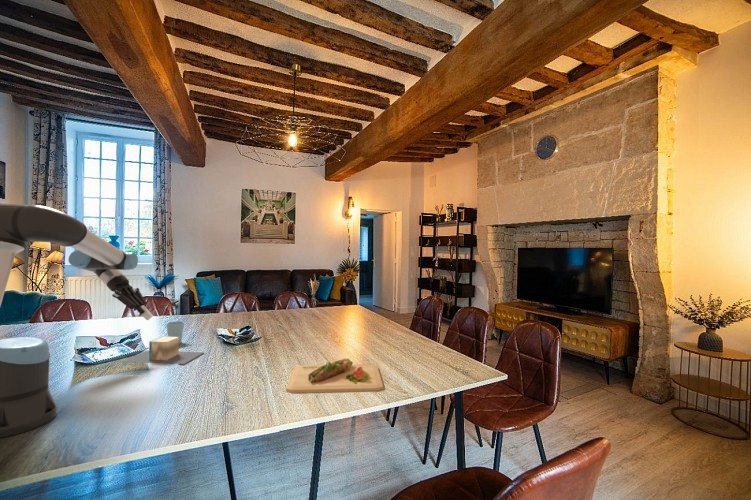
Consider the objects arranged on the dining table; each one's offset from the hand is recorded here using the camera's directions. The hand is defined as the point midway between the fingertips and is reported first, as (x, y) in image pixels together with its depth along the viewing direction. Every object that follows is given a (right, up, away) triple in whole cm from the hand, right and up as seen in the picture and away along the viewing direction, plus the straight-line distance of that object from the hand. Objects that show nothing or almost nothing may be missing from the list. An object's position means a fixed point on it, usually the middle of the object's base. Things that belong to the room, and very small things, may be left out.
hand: (150, 317), depth 143 cm
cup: (-3, -18, +22) cm, 29 cm away
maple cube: (+3, -13, 0) cm, 14 cm away
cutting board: (+86, -21, -18) cm, 91 cm away
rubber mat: (+7, -18, 0) cm, 19 cm away
